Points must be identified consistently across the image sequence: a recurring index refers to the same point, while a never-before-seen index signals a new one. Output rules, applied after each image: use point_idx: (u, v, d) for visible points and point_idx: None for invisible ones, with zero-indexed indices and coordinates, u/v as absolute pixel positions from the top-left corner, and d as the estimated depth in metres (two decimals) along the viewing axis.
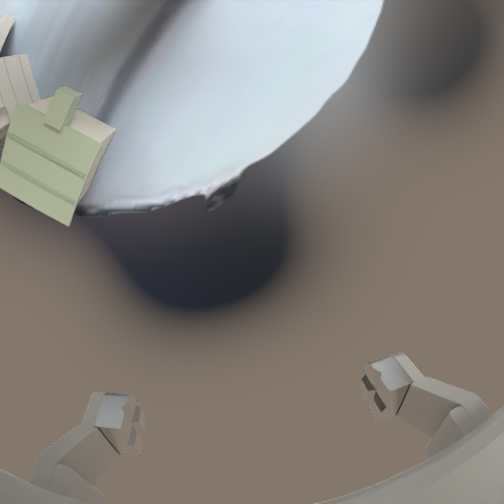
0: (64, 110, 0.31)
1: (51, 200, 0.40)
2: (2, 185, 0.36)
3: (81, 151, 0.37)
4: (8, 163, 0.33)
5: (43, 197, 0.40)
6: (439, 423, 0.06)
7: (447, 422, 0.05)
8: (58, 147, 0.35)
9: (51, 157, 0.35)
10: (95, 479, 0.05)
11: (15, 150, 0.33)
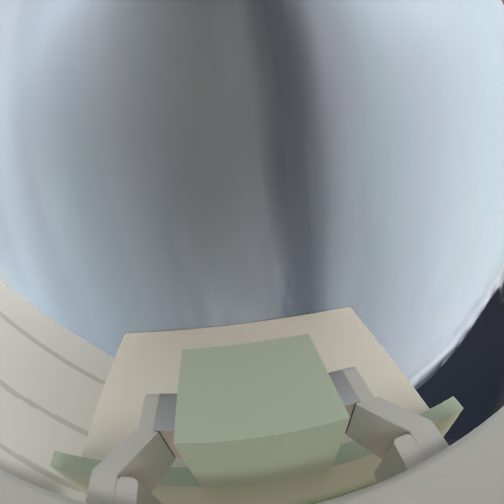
0: (314, 467, 0.06)
1: None
2: None
3: None
4: None
5: None
6: (389, 447, 0.06)
7: (392, 450, 0.05)
8: (318, 493, 0.09)
9: None
10: (150, 487, 0.06)
11: None
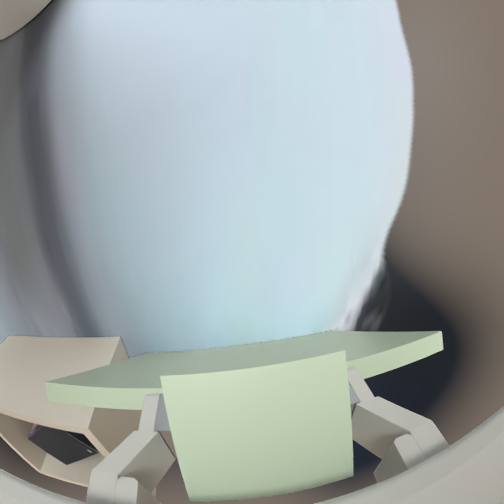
0: None
1: None
2: None
3: None
4: None
5: None
6: (390, 447, 0.06)
7: (392, 450, 0.05)
8: None
9: None
10: (150, 487, 0.06)
11: None
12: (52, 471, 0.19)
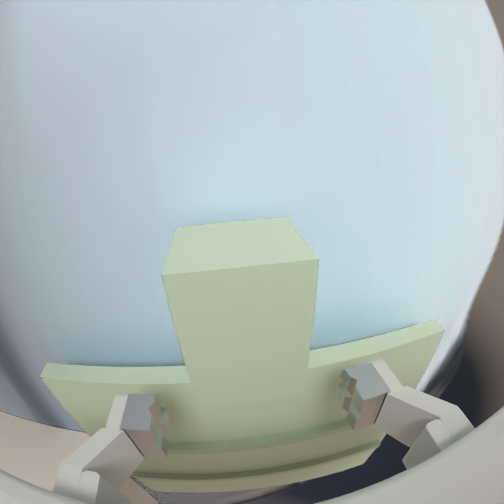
0: (292, 337, 0.08)
1: (316, 467, 0.17)
2: (168, 490, 0.17)
3: None
4: (154, 474, 0.14)
5: (292, 474, 0.17)
6: (418, 434, 0.06)
7: (424, 435, 0.05)
8: (303, 414, 0.12)
9: (293, 440, 0.12)
10: (119, 483, 0.06)
11: (152, 459, 0.13)
12: None
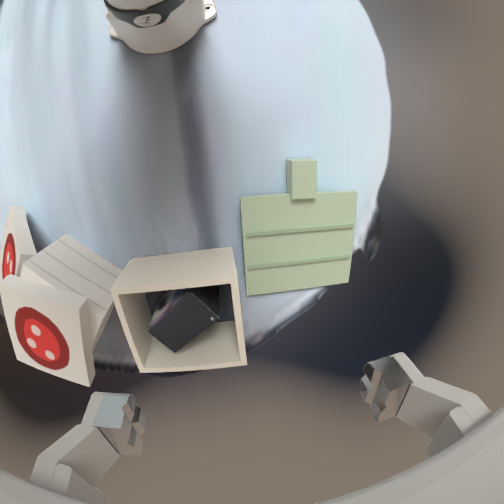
0: (313, 177, 0.42)
1: (325, 269, 0.50)
2: (256, 290, 0.50)
3: (342, 206, 0.45)
4: (258, 263, 0.48)
5: (315, 271, 0.50)
6: (439, 423, 0.06)
7: (447, 422, 0.05)
8: (317, 215, 0.46)
9: (314, 228, 0.46)
10: (95, 479, 0.05)
11: (263, 246, 0.47)
12: (156, 365, 0.41)
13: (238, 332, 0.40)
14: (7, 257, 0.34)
